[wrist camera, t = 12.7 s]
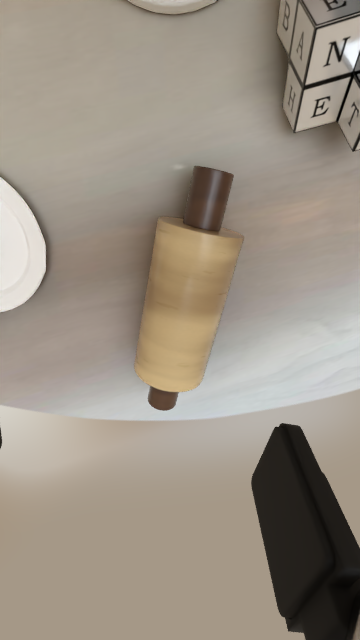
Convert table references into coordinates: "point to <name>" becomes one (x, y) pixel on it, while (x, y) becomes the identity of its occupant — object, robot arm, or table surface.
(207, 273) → the rolling pin
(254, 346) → the table surface
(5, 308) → the candle holder
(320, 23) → the building blocks
